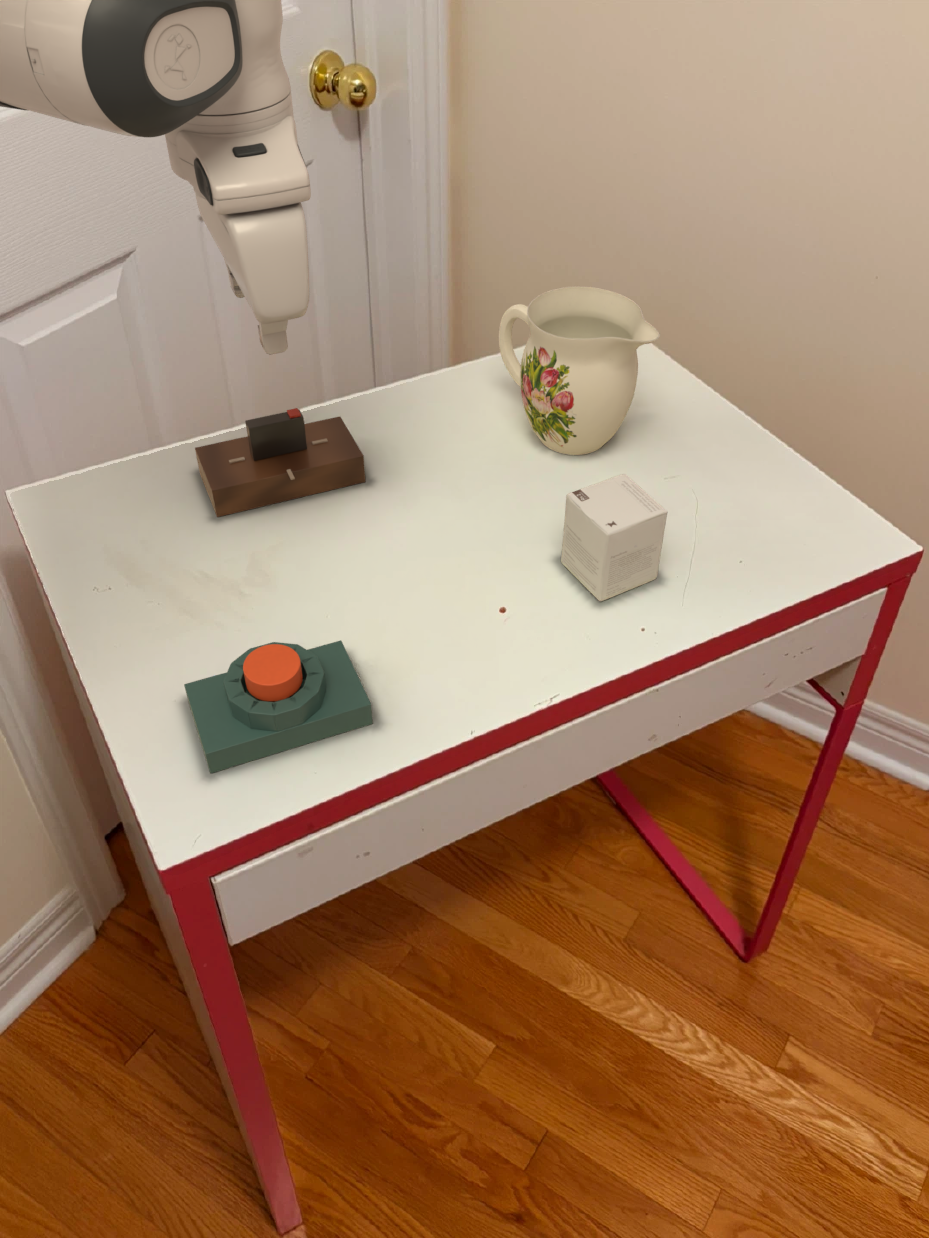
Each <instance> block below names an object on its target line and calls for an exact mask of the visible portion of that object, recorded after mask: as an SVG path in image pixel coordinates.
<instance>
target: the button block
mask: <svg viewBox="0 0 929 1238" xmlns="http://www.w3.org/2000/svg"><path fill="white" fill-rule="evenodd" d="M270 644H280V645H285V646H288V647H290V648H292V649H293V650H294V651H295V652H296V653H297V654H298V655H299V658H300V662H301V669H302V676H303V680H302V684H301V686H300V688H299V689H298V691H297V692H296V693H294V694H293V695H292V696H290V697H288V698H286V699H283V700H280V701H272V702H270V701H263V700H259V699H257V698H255V697H254V696H252V695H251V694H250V693H249V691H248V689H247V686H246V682H245V677H244V672H243V664H244V661H245V659H246V657H247V656H248V655H249V654H250V653H251V652H252V651H254V650H255V649H257V648H259V647H262V646H265V645H270ZM183 686H184V690H185V694H186V697H187V701H188V702H187V703H188V705H189V708H190V711H191V715H192V718H193V721H194V726H195V728H196V731H197V735H198V738H199V741H200V744H201V747H202V751H203V755H204V757H205V761H206V764H207V768H208V771H209V773H210V774H213V773H217V772H220V771H223V770H226V769H227V770H228V769H230V768H234V767H237V766H240V765H243V764H247V763H249V762H254V761H256V760H260V759H263V758H266V757H270V756H273V755H275V754H279V753H282V752H286V751H289V750H292V749H295V748H298V747H302V746H305V745H309V744H312V743H315V742H319V741H320V740H325V739H327V738H331V737H334V736H338V735H342V734H344V733H347V732H351V731H353V730H358V729H360V728H361V729H362V728H364V727H367V726H370V725H373V723H374V722H373V711H372V710H373V709H372V703H371V700H370V699H369V697H368V694H367V692H366V690H365V687H364V686H363V683H362V682H361V679H360V677H359V675H358V673H357V671H356V669H355V667H354V664H353V662H352V660H351V658H350V656H349V653H348V652H347V650H346V647H345V645H344V643H343V641H342V640H336V641H334V642H330V643H325V644H323V645H319V646H315V647H312V648H308V649H306V648H305V647H303V646H301V645H300V644H298V643H289V642H288V643H287V642H280V641H279V642H278V641H273V642H269V643H265V644H261V645H257V646H254V647H250V648H248V649H247V650H246V651H245V652H243V653H242V654H241V655H240V656H238V657H236V658H235V660H233V661H232V662H231V663H230V664H229V667H228V669H227V672H226V671H225V672H223V673H220V674H216V675H211V676H209V677H204V678H201V679H198V680H194V681H191V682H186V683H184V684H183Z"/></svg>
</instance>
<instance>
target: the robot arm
mask: <svg viewBox="0 0 929 1238" xmlns="http://www.w3.org/2000/svg"><path fill="white" fill-rule="evenodd" d="M283 21H284V16H283V5H282V0H0V107H1V108H7V109H13V110H20V111H27V112H28V111H30V112H33V113H37V114H41V115H43V116H47V117H51V118H56V119H59V120H62V121H65V122H70V123H74V124H78V125H81V126H84V127H85V126H86V127H90V128H94V129H97V130H101V131H105V132H109V133H113V134H117V135H121V136H127V137H135V138H157V137H161V136H164V137H165V143H166V148H167V153H168V159H169V163H170V168H171V170H172V172H173V173H174V174H175V175H176V176H178V178H180V179H182V180H183V181H186V182H188V183H189V184H190V185H191V186H192V187H193V188H192V189H193V191H194V194H195V199H196V200H195V201H196V204H197V208H198V211H199V214H200V216H201V219H202V221H203V222H204V224H205V227H206V228H207V230H208V231H209V233H210V235H211V237H212V239H213V241H214V243H215V244H216V246H217V248H218V250H219V252H220V253H221V255H222V258H223V260H224V263H225V268H226V270H227V274H228V279H229V285H230V288H231V290H232V292H233V294H234V296H236V298H239V299H243V298H245V300H246V302H247V304H248V305H249V307H250V309H251V311H252V313H253V315H254V317H255V319H256V320H257V322H258V325H257V331H258V336H259V343H260V345H261V346H262V349H263V351H264V353H265V354H267V355H269V356H272V355H276V354H282V353H285V352H286V351H287V350H288V348H289V343H288V337H287V336H288V335H287V329H288V324H289V321H290V320H295V319H299V318H302V317H303V316H305V315H306V313H307V311H308V307H309V302H310V268H309V248H308V246H309V245H308V231H307V224H306V223H307V222H306V217H305V211H304V207H303V205H302V203H304V202H307V201H310V200H311V198H312V197H311V196H312V191H311V180H310V175H309V171H308V168H307V165H306V162H305V159H304V158H303V154H302V152H301V149H300V146H299V141H298V134H297V125H296V120H295V116H294V106H293V97H292V90H291V89H292V88H291V83H290V78H289V75H288V72H287V70H286V67H285V65H284V62H283V57H282V52H281V35H282V28H283Z"/></svg>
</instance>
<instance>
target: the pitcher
mask: <svg viewBox="0 0 929 1238" xmlns="http://www.w3.org/2000/svg"><path fill="white" fill-rule="evenodd" d="M517 319H519V320H522V321H523V322H524V323H525V324H527V326H528V330H529V336H528V339H527V341H526V343H525V346H524V349H523V352H522V355H521V359H520V362H519V360H518V358H517V356H516V353H515V349H514V344H513V328H514V324H515V321H516V320H517ZM660 336H661V333H660V332H659V330H658V329H657V328H656V327H655V326H654V325H652V324H651V323H650V322H648V321H647V320H646V319H645V317H644V314H643V310H642V308H641V307H640V305H639V304H638V303H637V302H636V301H634V300H632V299H631V298H629V297H627V296H625V295H624V294H621V293H618V292H616V291H613V290H609V289H605V288H600V287H595V286H580V285H579V286H578V285H577V286H565V287H559V288H553V289H550V290H547V291H545V292H543V293H540V294H539V295H537V296H535V297H534V298H533V299H532V300H531V301H530V302H529V303H528V305H525V304H523V303H517V304H513V305H511V306H509V307H508V308H507V309H506V310H505V311H504V313H503V314H502V317H501V319H500V324H499V328H498V347H499V353H500V357H501V360H502V362H503V364H504V366H505V368H506V370H507V372H508V373H509V375H510V376H511V378H512V379H513V381H514V382H515V383H516V384H517V385H518V386H519V389H520V395H521V400H522V405H523V409H524V412H525V416H526V418H527V421H528V423H529V426H530V427H531V429H532V431H533V433H534V434H535V435H536V436H537V438H538V439H539V440H540V442H541V443H542V444H543V446H545V447H546V448H548V449H549V450H552V451H554V452H556V453H559V454H563V455H569V456H581V455H582V456H583V455H587V454H591V453H594V452H596V451H598V450H600V449H601V448H603V446H604V445H605V444H606V443H607V442H609V441H610V440H611V439H612V438H613V437H614V436H615V435H616V433H617V432H618V430H619V429H620V427H621V426H622V424H623V422H624V420H625V419H626V417H627V414H628V413H629V410H630V408H631V405H632V402H633V400H634V396H635V393H636V388H637V381H638V374H639V358H638V351H637V350H638V349H639V347H642V346H644V345H650V344H652V343H655V342H657V341H658V340H659V339H660Z"/></svg>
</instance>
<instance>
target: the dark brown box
mask: <svg viewBox="0 0 929 1238" xmlns="http://www.w3.org/2000/svg"><path fill="white" fill-rule="evenodd" d="M304 419H305V417H304V415H303V414H302V411H301V410H300V409H299V408H298V407H296V408H290V409H287V410H286V411H284V412H279V413H275V414H274V413H273V414H270V415H265V416H261V417H255V418H251V419H245V421H244V423H245V429H246V435H247V436H248V442H249V448H250V453H251V455H252V458H253V460H254V461H256V460H261V459H265V458H270V457H274V456H278V455H283V454H287V453H292V452H296V451H301V450H305V449H307V443H306V434H305V425H304V424H305V420H304ZM247 436H246V437H247Z"/></svg>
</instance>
